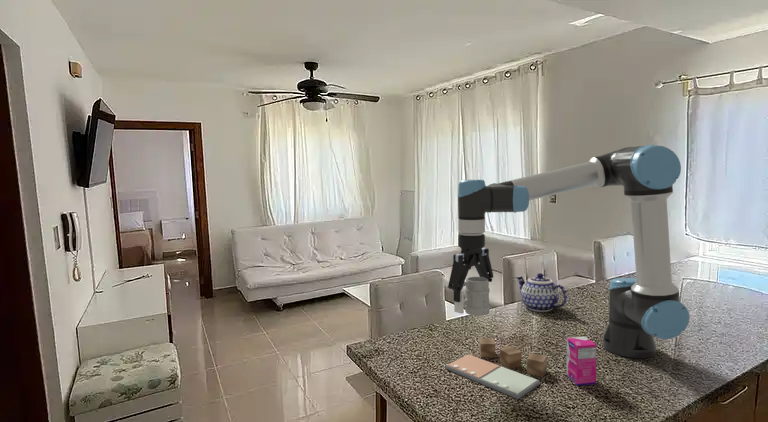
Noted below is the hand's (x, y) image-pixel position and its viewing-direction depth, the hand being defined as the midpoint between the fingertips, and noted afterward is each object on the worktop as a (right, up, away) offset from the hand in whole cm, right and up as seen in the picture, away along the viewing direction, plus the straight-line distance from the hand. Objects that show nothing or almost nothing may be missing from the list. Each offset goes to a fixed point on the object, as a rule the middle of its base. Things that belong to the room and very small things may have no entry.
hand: (471, 307), depth 125 cm
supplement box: (+29, -19, -6) cm, 35 cm away
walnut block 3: (+19, -19, 0) cm, 27 cm away
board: (+5, -19, -2) cm, 20 cm away
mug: (0, -2, 0) cm, 2 cm away
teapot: (+40, -13, +55) cm, 69 cm away
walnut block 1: (+7, -18, +12) cm, 23 cm away
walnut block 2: (+13, -18, +5) cm, 23 cm away
